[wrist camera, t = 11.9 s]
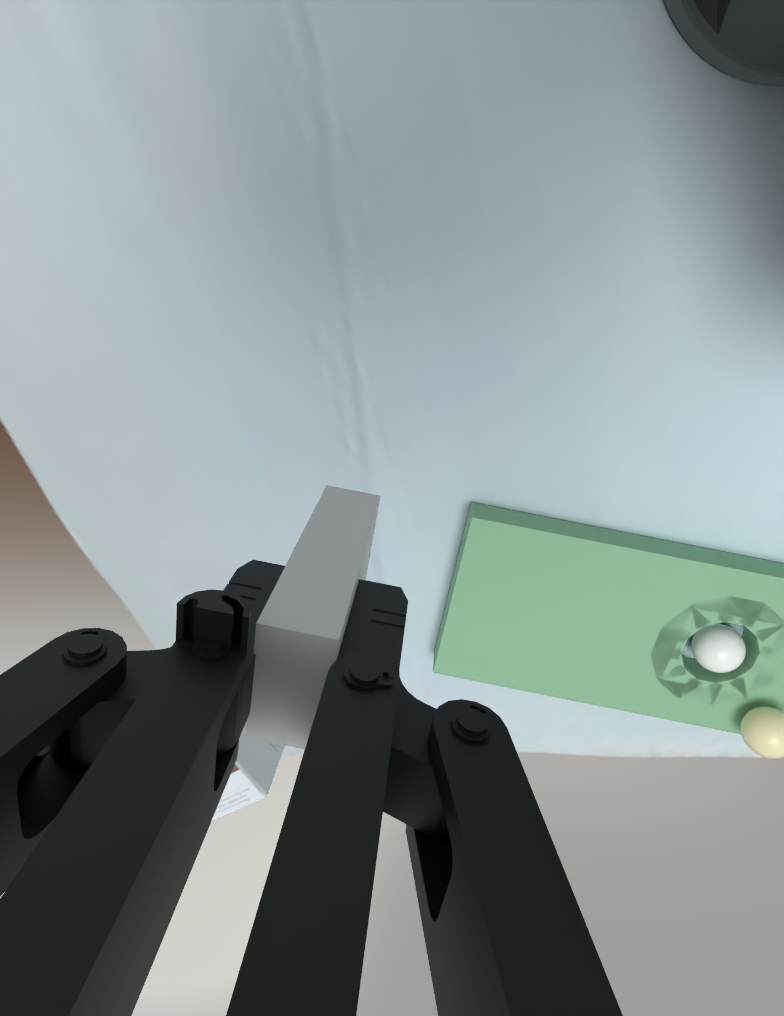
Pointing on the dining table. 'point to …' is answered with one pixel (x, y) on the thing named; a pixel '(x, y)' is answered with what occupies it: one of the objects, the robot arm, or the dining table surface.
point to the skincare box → (249, 774)
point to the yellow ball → (764, 731)
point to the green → (609, 618)
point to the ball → (718, 648)
